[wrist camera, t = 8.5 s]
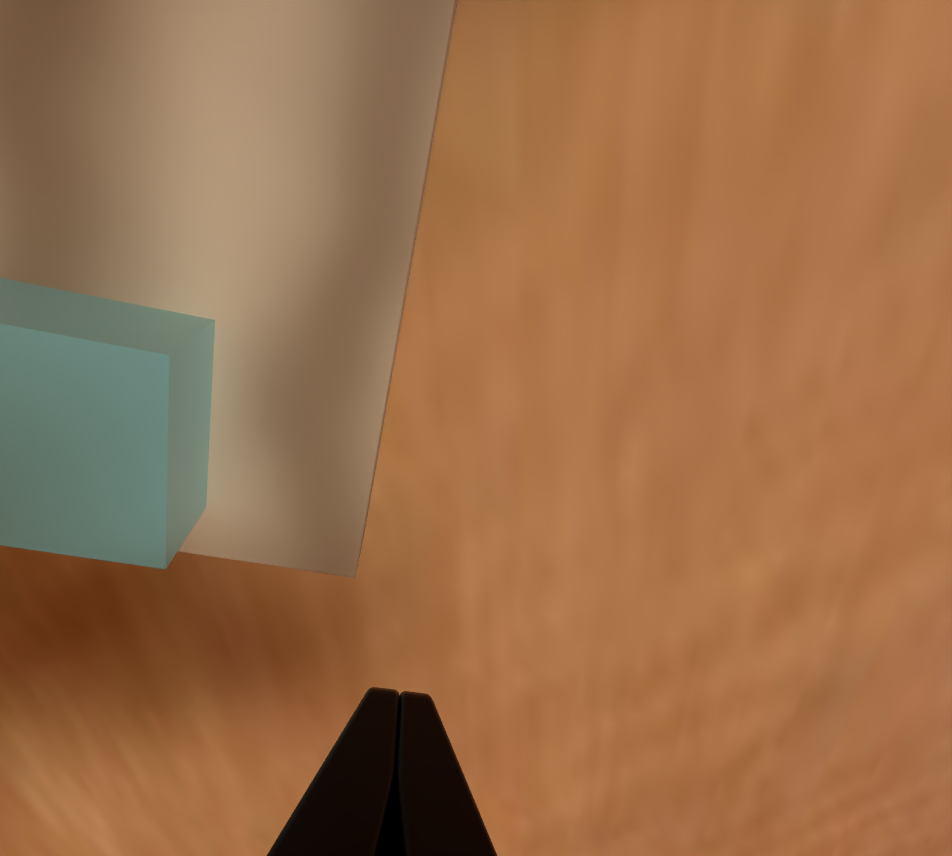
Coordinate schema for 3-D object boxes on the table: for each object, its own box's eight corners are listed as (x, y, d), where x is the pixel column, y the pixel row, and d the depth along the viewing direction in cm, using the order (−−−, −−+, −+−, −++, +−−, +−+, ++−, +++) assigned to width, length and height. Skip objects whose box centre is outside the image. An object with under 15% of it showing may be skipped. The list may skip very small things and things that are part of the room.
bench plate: (479, -126, 12) (484, -172, 10) (363, 535, 19) (354, 577, 17) (-325, -368, 11) (-486, -473, 9) (-148, 454, 17) (-219, 492, 15)
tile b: (215, 319, 14) (169, 355, 12) (206, 507, 16) (165, 569, 14) (-28, 272, 13) (-127, 300, 11) (-5, 474, 15) (-84, 533, 13)
